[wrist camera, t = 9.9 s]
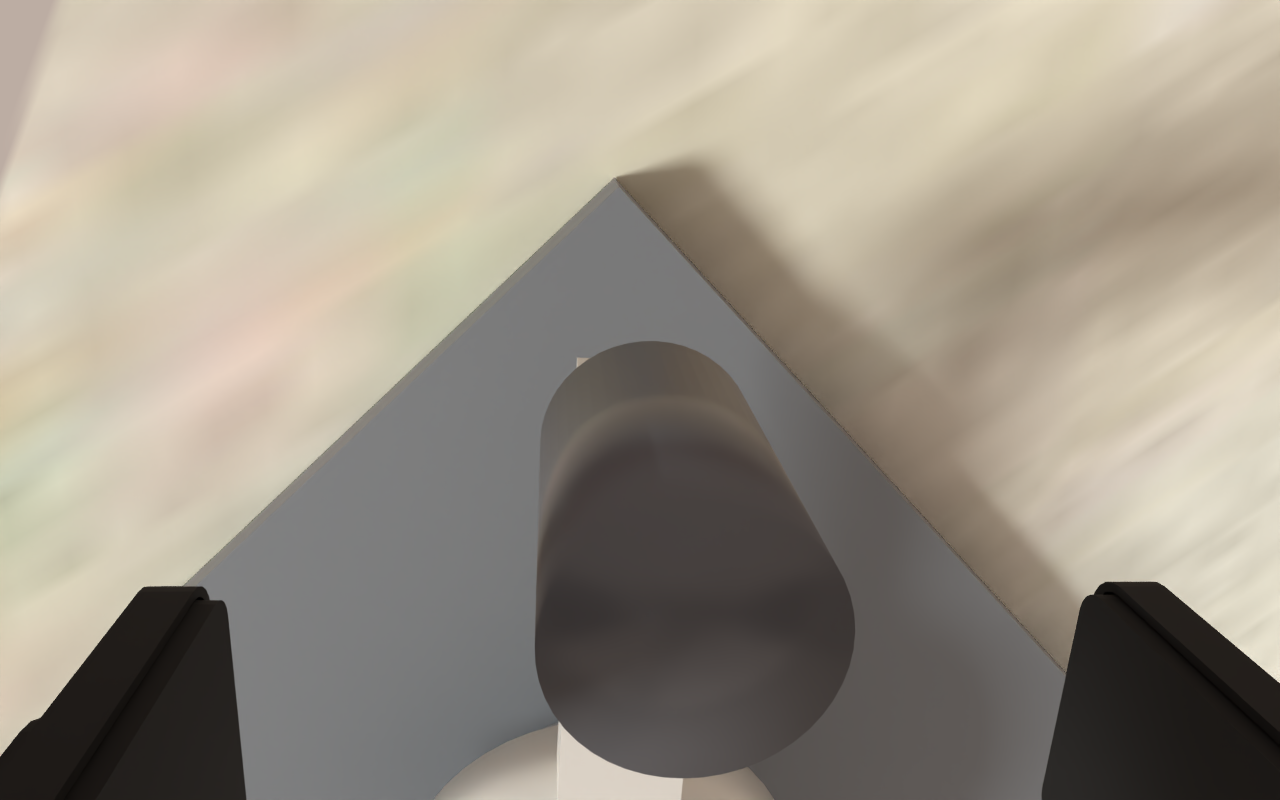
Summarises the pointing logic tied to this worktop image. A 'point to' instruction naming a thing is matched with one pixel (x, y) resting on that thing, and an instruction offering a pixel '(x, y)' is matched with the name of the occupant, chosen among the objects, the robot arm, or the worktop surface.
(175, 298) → the worktop surface
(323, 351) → the worktop surface
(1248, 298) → the worktop surface
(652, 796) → the lever handle
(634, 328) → the post base
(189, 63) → the worktop surface
